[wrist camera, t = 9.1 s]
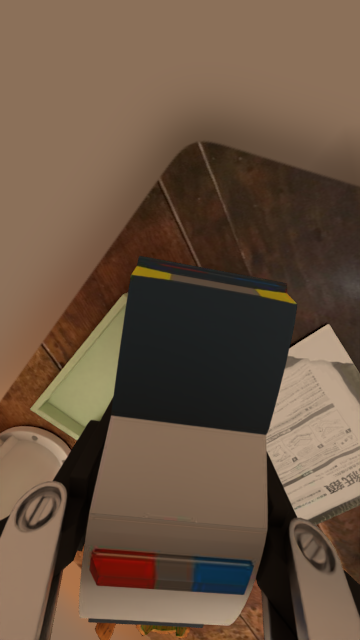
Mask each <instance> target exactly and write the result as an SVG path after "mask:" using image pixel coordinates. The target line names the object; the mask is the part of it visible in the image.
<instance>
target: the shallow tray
mask: <svg viewBox="0 0 360 640" xmlns="http://www.w3.org/2000/svg"><path fill="white" fill-rule="evenodd" d="M127 297H128V293H125V294H123V295H122V296H121V297H120V299H119V300H118V301H117V302H116V304H115V305H114V306H113V307H112V308H111V310H110V311H109V312H108V313H107V315H106V316H105V317H104V318H103V320H102V321H101V322H100V323H99V324H98V326H97V327H96V328H95V329H94V331H93V332H92V333H91V334H90V336H89V337H88V338H87V339H86V341H85V342H84V343H83V344H82V345H81V347H80V348H79V349H78V350H77V352H76V353H75V354H74V355H73V357H72V358H71V359H70V360H69V362H68V363H67V364H66V365H65V366H64V368H63V369H62V370H61V371H60V373H59V374H58V375H57V376H56V378H55V379H54V380H53V381H52V383H51V384H50V385H49V386H48V387H47V389H46V390H45V391H44V392H43V394H42V395H41V396H40V397H39V399H38V400H37V401H36V402H35V404H34V405H33V406H32V407H31V408H30V410H31V411H33V412H35V413H36V414H38V415H39V416H41V417H42V418H44V419H45V420H47V421H48V422H50V423H51V424H53V425H54V426H56V427H58V428H59V429H61V430H62V431H64V432H65V433H67V434H68V435H70V436H71V437H73V438H74V439H76V440H78V439H79V437H80V435H81V434H82V432H83V430H84V429H85V427H86V426H87V424H88V423H89V421H90V420H96V421H100V420H101V418H102V416H103V414H104V413H105V411H106V409H107V407H108V405H109V403H110V402H111V400H112V398H113V396H114V388H115V381H116V373H117V365H118V358H119V351H120V344H121V337H122V330H123V323H124V316H125V309H126V303H127Z"/></svg>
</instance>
